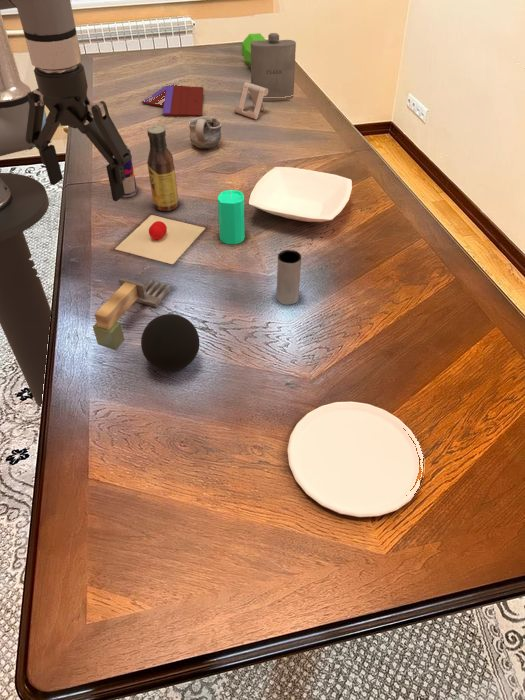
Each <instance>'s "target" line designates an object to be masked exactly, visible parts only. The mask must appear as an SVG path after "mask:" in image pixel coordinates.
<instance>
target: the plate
mask: <svg viewBox="0 0 525 700" xmlns="http://www.w3.org/2000/svg"><path fill="white" fill-rule="evenodd" d="M403 428H404V429H405V430H406V431H405V430H404V429H403ZM408 434H409V435H408ZM409 436H410V437H411V438H412V440H413V441H414V443H415V444H416V445H415V444H414V443H413V441H412V440H411V438H410V437H409ZM415 437H416V436H415V434H414V432H413V431H412V429H410V428H409V427H408V426H407V425H406V424H405V422H403V421H402V420H401V419H400V418H399V417H397V416H395V415H394V414H392V413H390V412H389V411H387V410H386V409H384V408H381V407H378V406H375V405H372V404H369V403H364V402H357V401H335V402H332V403H327V404H324V405H320V406H318V407H317V408H315V409H313V410H311V411H309V412H307V413H306V414H305V415H304V416H303V417H302V418H301V419H300V420H298V422H297V423H296V425H295V427H294V428H293V430H292V431H291V434H290V435H289V440H288V445H287V449H286V451H287V460H288V466H289V469H290V471H291V473H292V475H293V478H294V481H295V482H296V483H297V484H298V485H299V487H300V488H301V489H302V490H303V492H304V493H305V494H306V495H307V496H308V497H309V498H311V499H312V500H313V501H315V502H316V503H317V504H319V505H320V506H321V507H324V508H326V509H328V510H330V511H332V512H335V513H337V514H339V515H345V516H349V517H354V518H374V517H375V518H377V517H381V516H385V515H388V514H391V513H393V512H396V511H398V510H399V509H401V508H402V507H404V506H405V505H407V504H408V503H410V501H412V500H413V498H414V496H415V495H416V494H417V492H418V491H417V489H418V488H419V486H420V480H421V479H420V480H419V479H418V481H417V483H416V485H415V482H416V479H417V476H418V473H419V457H420V459H421V460H420V465H421V466H420V467H421V469H422V470H421V471H422V472H423V463H422V462H423V458H424V459H425V456H424V453H423V450H422V447H421V444H420V441H419V440H418V439H417V437H416V438H415ZM417 440H418V441H417ZM419 444H420V445H419ZM415 446H416V447H415ZM420 447H421V448H420ZM416 448H417V451H416ZM421 450H422V451H421ZM417 452H418V454H417ZM422 453H423V454H422ZM418 455H419V457H418ZM423 456H424V457H423ZM422 472H421V473H422ZM421 477H422V474H421ZM421 477H420V478H421ZM424 477H425V475H424V476H423V478H424ZM414 485H415V487H414V488H413V486H414ZM420 487H421V486H420ZM412 488H413V489H412ZM411 489H412V490H411ZM419 489H420V488H419ZM410 490H411V491H410ZM416 491H417V492H416ZM415 493H416V494H415ZM414 494H415V495H414ZM406 495H407V496H406Z"/></svg>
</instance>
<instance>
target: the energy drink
mask: <svg viewBox="0 0 525 700" xmlns="http://www.w3.org/2000/svg"><path fill="white" fill-rule="evenodd" d="M125 145H126V147H127V149H128V150H129V152H130V154H131V155H132V153H131V148H130V147H129V145H128V144H125ZM113 158H115V157H114V156H113ZM123 169H124V175H125V180H124V181H123V186H124V192H125V195H124V196H123V197H122V199H123V198H125V199H128V198H132V197H134V196H135V195H137V192H138V188H137V182H136V176H135V171H134V164H133V158H132V159H131V160H130V161H128V162H127V163H126V164H124V165H123Z"/></svg>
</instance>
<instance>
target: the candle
mask: <svg viewBox="0 0 525 700" xmlns="http://www.w3.org/2000/svg"><path fill="white" fill-rule="evenodd" d="M217 212H218V213H217V214H218V232H219V240H220V241H221V242H222V243H224V244H226V245H237V244H241V243H242V242H243V241H244V240H245V237H246V234H245V231H246V230H245V229H246V228H245V195H244V193H243V192H242V191H241V190H236V189H226V190H224V191H221V192H220V193H219V194H218V196H217Z"/></svg>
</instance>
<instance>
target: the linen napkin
mask: <svg viewBox="0 0 525 700" xmlns="http://www.w3.org/2000/svg"><path fill="white" fill-rule="evenodd" d="M156 221H161V222H163V223H164V224H165V225H166V227H167V232H166V234H165V235H164V236H163V237H162V238H161V239H159V240H155V239H153V238H151V237H150V235H149V228H150V226H151V225H152V224H153V223H154V222H156ZM205 230H206V227H204V226H200V225H195V224H190V223H187V222H182V221H178V220H174V219H169V218H166V217H162V216H157V215H153V214H150V215H149V216H148V217H147V218H146V219H145V220H144V221H142V223H141V224H139V225H138V226H137V228H135V229H134V230H133V231H132V232H131V233H130V234H129V235H128V236H127V237H126V238H125V239H124V240H122V242H120V244H118V245H117V246H116V247H115V248H114V250H115V251H116V250H117V251H119V252H123V253H126V254H131V255H134V256H138V257H142V258H146V259H149V260H153V261H156V262H160V263H163V264H164V263H165V264H169V265H172V266H173V265H174V264H175V263H176V262H177V261H178V259H180V257H182V255H183V254H184V253H185V252H186V251H187V249H188V248H189V247H190V246H191V245H192V244H193V243H194V242H195V241H196V240H197V238H198V237H199V236H200V235H201V234H202V233H203V232H205Z"/></svg>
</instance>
